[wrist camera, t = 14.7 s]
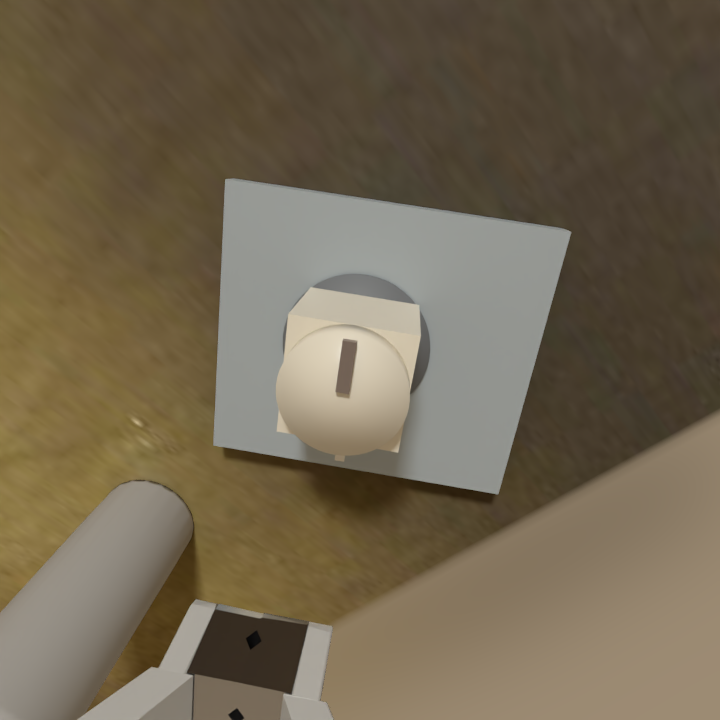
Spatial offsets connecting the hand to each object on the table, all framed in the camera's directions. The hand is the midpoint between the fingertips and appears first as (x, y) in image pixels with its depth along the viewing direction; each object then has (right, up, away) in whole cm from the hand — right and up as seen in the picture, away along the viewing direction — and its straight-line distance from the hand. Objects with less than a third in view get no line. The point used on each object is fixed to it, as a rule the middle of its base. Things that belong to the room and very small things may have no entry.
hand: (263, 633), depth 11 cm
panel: (+3, +7, +20) cm, 22 cm away
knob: (+2, +6, +18) cm, 20 cm away
